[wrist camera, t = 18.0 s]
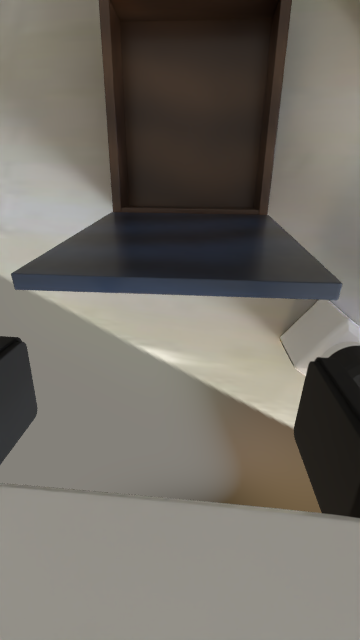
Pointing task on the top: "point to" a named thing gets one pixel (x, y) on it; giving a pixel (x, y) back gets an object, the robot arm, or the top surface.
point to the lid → (182, 259)
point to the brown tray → (193, 102)
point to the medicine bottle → (324, 339)
